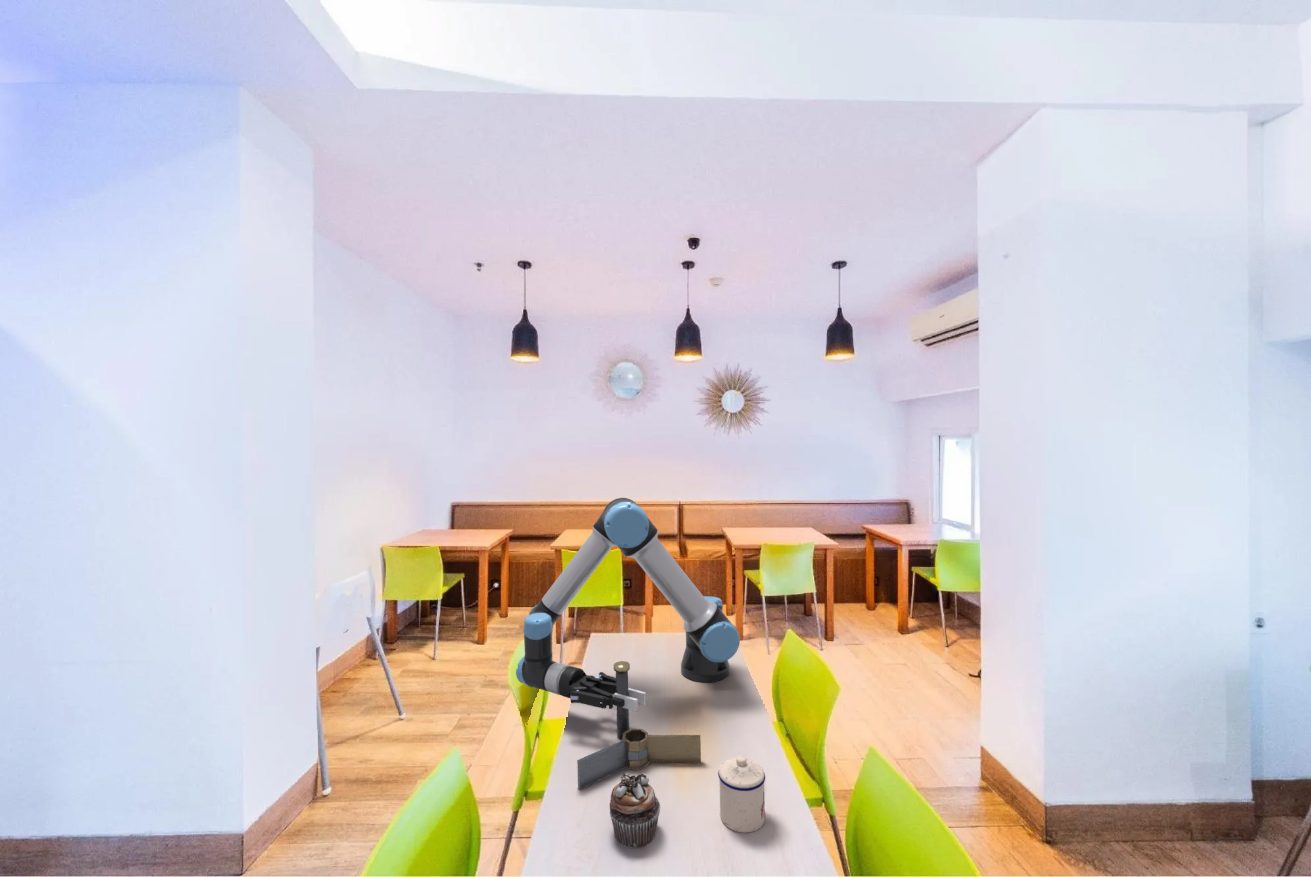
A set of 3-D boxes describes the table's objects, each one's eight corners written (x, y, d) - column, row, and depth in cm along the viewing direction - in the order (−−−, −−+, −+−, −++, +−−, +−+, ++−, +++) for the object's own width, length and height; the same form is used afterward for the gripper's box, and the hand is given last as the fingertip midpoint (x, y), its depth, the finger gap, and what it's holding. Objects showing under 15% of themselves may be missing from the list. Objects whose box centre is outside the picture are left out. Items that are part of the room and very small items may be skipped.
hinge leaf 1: (638, 750, 127) (638, 726, 127) (653, 762, 122) (653, 736, 122) (572, 781, 116) (571, 754, 116) (585, 795, 112) (585, 767, 112)
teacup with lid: (773, 830, 101) (772, 769, 101) (727, 838, 99) (726, 776, 99) (750, 789, 113) (749, 734, 113) (709, 795, 111) (708, 739, 111)
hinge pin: (631, 732, 135) (630, 661, 135) (630, 741, 131) (628, 668, 131) (616, 732, 135) (614, 661, 135) (614, 741, 131) (612, 668, 131)
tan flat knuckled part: (700, 754, 125) (699, 729, 125) (701, 769, 119) (700, 743, 119) (624, 753, 126) (624, 728, 126) (622, 769, 120) (621, 743, 120)
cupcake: (609, 853, 96) (608, 798, 96) (610, 815, 106) (609, 765, 106) (662, 850, 97) (661, 795, 97) (659, 812, 107) (658, 762, 106)
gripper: (585, 682, 149) (658, 702, 137) (546, 708, 135) (622, 733, 123) (584, 655, 149) (657, 673, 137) (545, 679, 135) (622, 701, 123)
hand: (640, 701), depth 130 cm, fingers closed on hinge pin, 3 cm apart
